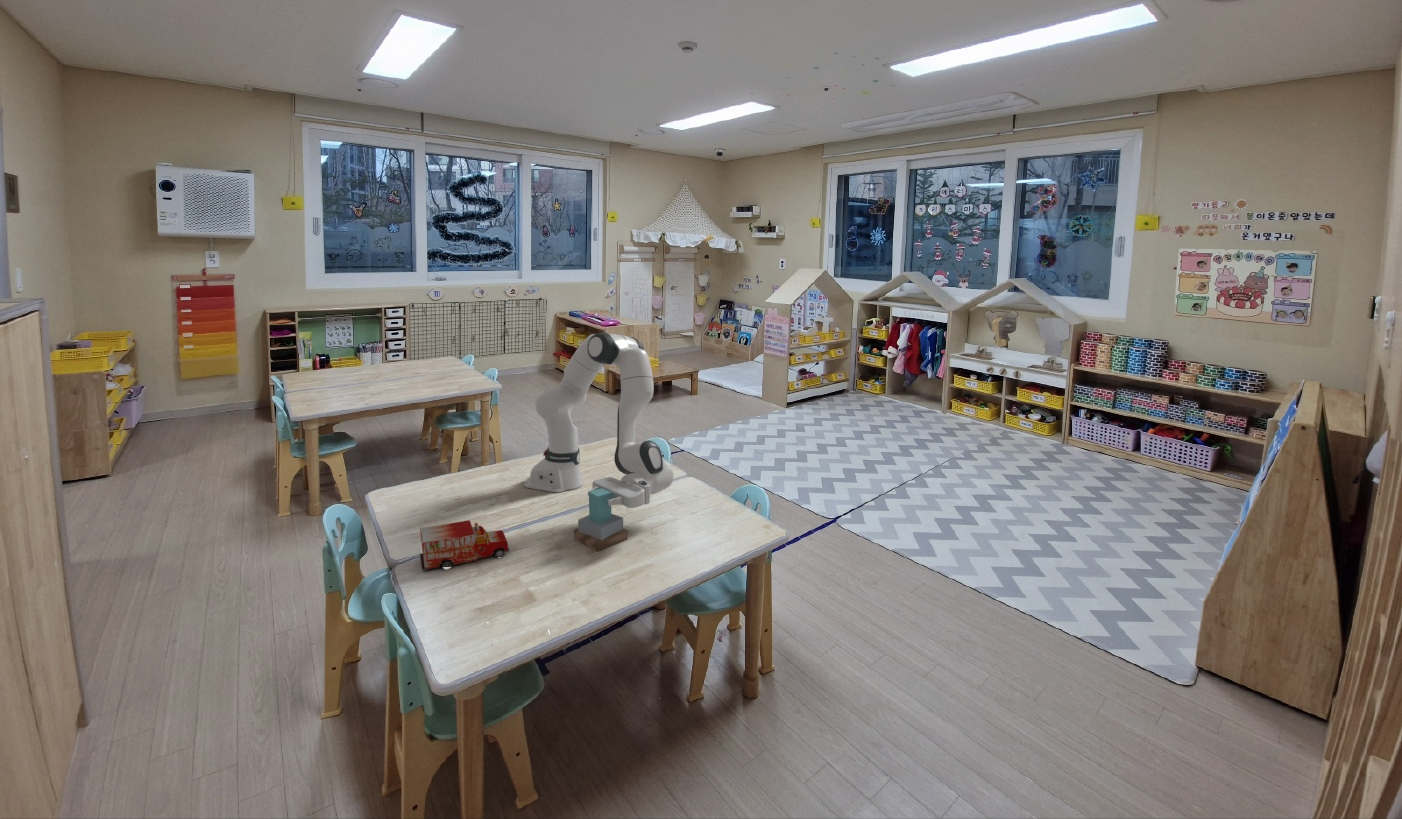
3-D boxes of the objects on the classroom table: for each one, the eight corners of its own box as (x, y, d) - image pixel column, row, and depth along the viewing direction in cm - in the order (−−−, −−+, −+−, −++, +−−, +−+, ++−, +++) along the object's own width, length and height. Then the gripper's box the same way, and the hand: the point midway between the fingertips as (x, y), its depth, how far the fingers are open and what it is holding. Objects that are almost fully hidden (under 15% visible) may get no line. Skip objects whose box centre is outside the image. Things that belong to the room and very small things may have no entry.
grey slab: (578, 531, 211) (578, 519, 210) (600, 520, 218) (600, 509, 217) (601, 540, 205) (600, 528, 204) (623, 529, 213) (623, 517, 212)
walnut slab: (574, 541, 213) (573, 529, 212) (603, 529, 221) (603, 518, 220) (597, 553, 205) (597, 541, 204) (627, 541, 213) (627, 529, 212)
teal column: (589, 518, 211) (588, 491, 209) (602, 514, 214) (602, 487, 212) (598, 523, 207) (597, 496, 205) (611, 519, 211) (611, 492, 208)
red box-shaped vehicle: (510, 558, 200) (508, 527, 198) (422, 574, 190) (419, 542, 188) (504, 542, 210) (502, 513, 207) (420, 557, 200) (417, 527, 197)
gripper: (612, 469, 224) (578, 480, 214) (652, 486, 210) (618, 498, 201) (612, 487, 226) (579, 498, 216) (652, 505, 212) (618, 517, 202)
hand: (598, 498), depth 208 cm, fingers open, 8 cm apart
